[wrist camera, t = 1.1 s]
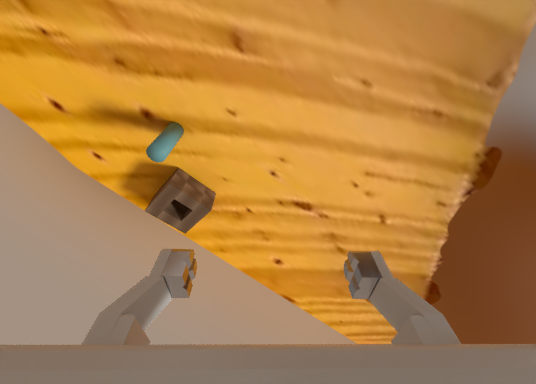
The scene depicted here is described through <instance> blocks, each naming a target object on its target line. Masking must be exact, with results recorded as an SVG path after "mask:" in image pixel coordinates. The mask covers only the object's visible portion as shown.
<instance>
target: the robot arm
mask: <svg viewBox="0 0 536 384" xmlns="http://www.w3.org/2000/svg"><path fill="white" fill-rule="evenodd" d="M347 256H348V259H347V260H346V261H345V263H344V274H345V277H346V279H347V280H348V281H349V282H350V284H349V289H350V292H351V295H352V298H353V299H369V301H370V302H371V303H372V304H373V305H374V306H375V307H376V308H377V310H378V311H379V312H380V313H381V314H382V315H383V316H384V317H385V318H386V319H387V321H388V322H389V323H390V324H391V325H392V326H393V327H394V328H395V329H396V331H397V332H398V333H397V334H396V335H395V337H394V338H393V339H392V341H391V342H392V344H353V345H352V344H349V345H348V344H344V345H343V344H335V345H334V344H328V345H327V344H326V345H325V344H321V345H320V344H318V345H317V344H315V345H314V344H313V345H312V344H308V345H305V344H304V345H303V344H298V345H297V344H295V345H294V344H292V345H289V344H285V345H149V343H150V341H149V339H148V337H147V336H146V334H145V332H144V330H145V329H146V328H147V327H148V325H149V324H150V323H151V322H152V321H153V320H154V319H155V318H156V316H157V315H158V314H159V313H160V312H161V311H162V310H163V309H164V308H165V306H166V305H167V304H168V303H169V302H170V300H172V298H189V296H190V293H191V289H192V282H191V281H192V280H193V279H194V278H195V275H196V269H197V262H196V259H194V258H193V257H194V250H190V249H162V251H161V252H160V254H159V256H158V258H157V261H156V262H155V265H154V267H153V269H152V271H151V273H150V275H149V276H146V277H145V278H143V279H142V280H141V281H140V282H138V283H137V284H136V285H135V286H133V287H132V288H131V289H130V290H128V291H127V292H126V293H125V294H123V295H122V296H121V297H120V298H118V299H117V300H116V301H115V302H113V303H112V304H111V305H110V306H108V307H107V308H106V309H105V310H103V311H102V312H101V313H100V314H99V315H98V317H97V319H96V321H95V322H94V324H93V326H92V327H91V329H90V331H89V332H88V334H87V336H86V338H85V339H84V341H83V343H82V344H81V345H0V384H536V344H461V343H460V341H459V340H458V338H457V336H456V335H455V333H454V332H453V330H452V329H451V327H450V325H449V324H448V322H447V321H446V319H445V317H444V316H443V315H442V314H441V313H440V312H439V311H438V310H436V309H435V308H434V307H432V306H431V305H430V304H429V303H427V302H426V301H425V300H424V299H422V298H421V297H420V296H418V295H417V294H416V293H415V292H413V291H412V290H411V289H410V288H408V287H407V286H406V285H404V284H403V283H402V282H401V281H399V280H398V279H397V278H393V276H392V274H391V272H390V270H389V268H388V266H387V265H386V263H385V261H384V259H383V257H382V255H381V253H380V252H379V251H349V252H348V255H347Z"/></svg>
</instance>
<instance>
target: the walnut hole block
mask: <svg viewBox="0 0 536 384" xmlns="http://www.w3.org/2000/svg"><path fill="white" fill-rule="evenodd" d="M215 195H216V193H214V192H213V191H211V190H210V189H209V188H207V187H206V186H204V185H203V184H201V183H200V182H198V181H197V180H196V179H194V178H193V177H191V176H190V175H188V174H187V173H185V172H184V171H183V170H181V169H180V168H178V169H177V170H176V171H175V172H174V174H173V175H172V176H171V177H170V178H169V179H168V180H167V181H166V183H165V184H164V185H163V186H162V187H161V188H160V189H159V191H158V192H157V193H156V194H155V196H154V197H153V199H152V200H151V202H150V203H149V205H148V207H147V208H146V210H145V211H146V212H147V213H149V214H151V215H153V216H155V217H156V218H158V219H160V220H162V221H164V222H165V223H167V224H169V225H171V226H173V227H174V228H176V229H178V230H180V231H182V232H183V233H186V232H187V231H189V230H190V229H191V228H192V227H193V226H194V225H195V224H196V223H198V222H199V221H200V220H201V219H202V218H203V217H204V216H205V215H206V214H208V213H209V212H210V211H211V209H212V205H213V202H214V198H215Z"/></svg>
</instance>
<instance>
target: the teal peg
mask: <svg viewBox="0 0 536 384" xmlns="http://www.w3.org/2000/svg"><path fill="white" fill-rule="evenodd" d="M183 133H184V130H183V128H182V126H181V125H180V124H178V123H175V122H172V123H170V124H169V125H168V126H167V127H166V128H165V129H164V130H163V131H162V133H161V134H160V135H159V136H158V137H157V138H156V139H155V140H154V141H153V142H152V143H151V145H150V146H149V147H148V148H147V150H146V153H147V155H148V157H149V158H150V159H151V160H153V161H155V162H162V161H164V160H165V159H166V157H167V156H168V155H169V153H170V152H171V150H172V149H173V148H174V146H175V145H176V143H177V142H178V141H179V139H180V138H181V136H182V135H183Z"/></svg>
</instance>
